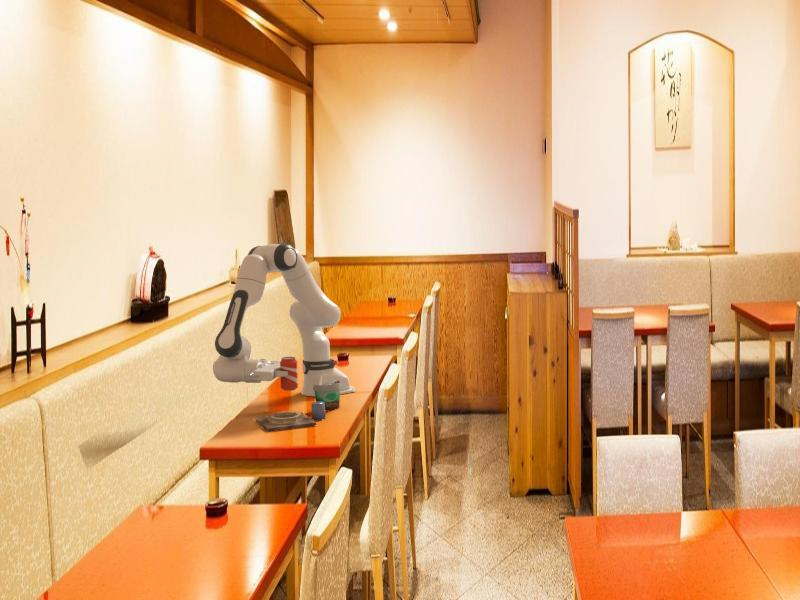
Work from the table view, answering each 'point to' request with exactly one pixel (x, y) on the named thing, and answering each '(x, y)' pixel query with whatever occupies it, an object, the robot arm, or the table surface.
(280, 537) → the table surface
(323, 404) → the lavender rounded cylinder
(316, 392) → the food container
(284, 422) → the square plate with ring
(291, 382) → the beverage can
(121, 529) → the table surface
